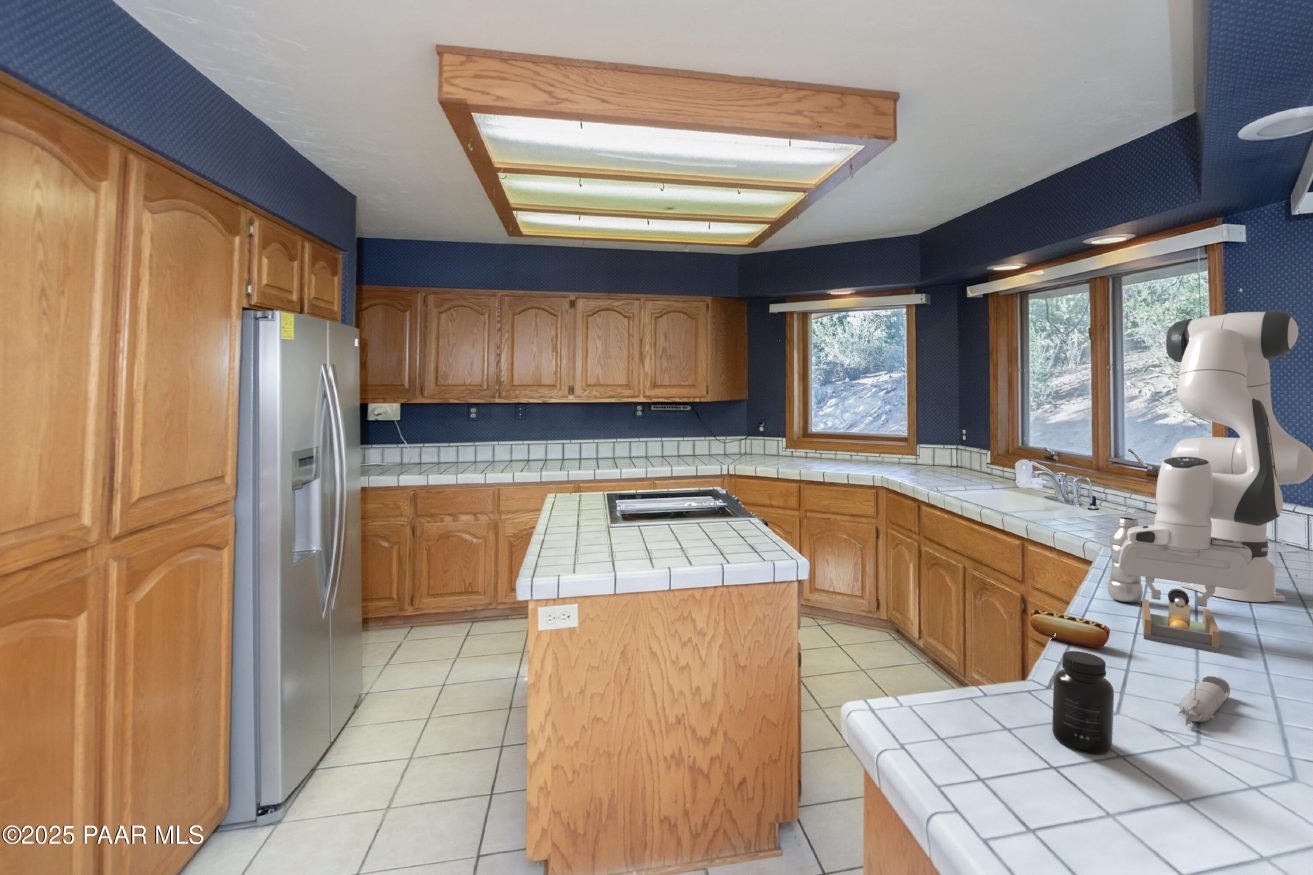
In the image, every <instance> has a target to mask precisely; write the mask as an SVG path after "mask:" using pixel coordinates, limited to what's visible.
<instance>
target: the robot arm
mask: <svg viewBox="0 0 1313 875" xmlns="http://www.w3.org/2000/svg"><path fill="white" fill-rule="evenodd" d="M1298 335H1299V327H1298V324H1297V322H1296V321H1295V318H1294V316H1293V315H1292V314H1291V313H1289V312H1287V311H1285V310H1270V309H1268V310H1266V311H1243V312H1240V311H1239V312H1229V313H1228V312H1227V313H1226V314H1218V315H1210V316H1205V317H1198V318H1194V319H1193V318H1187V319H1182V320H1179V321H1176V322H1174V324H1171V326H1170V327H1169V328H1168V330H1167V333H1166V335H1165V339H1164V340H1165V341H1164V348H1165V350H1166V354H1167V356H1168V357H1169V359H1171V360H1173V361H1174V362H1177V363H1180V366H1179V370H1178V375H1177V376H1178V377H1177V383H1176V396H1177V397H1176V398H1177V400H1178V403H1180V405H1181V406H1182V408H1184V409H1185V410H1186V411H1188V413H1191V414H1193V415H1194V416H1196V417H1198V418H1201V419H1204V420H1206V421H1210V422H1214V423H1216V424H1220V425H1223V426H1226V427H1229V428H1231V429H1233V431H1234V432H1236V433H1237V434H1238V436H1239V437H1222V436H1219V437H1218V436H1199V437H1192V438H1191V437H1190V438H1183V439H1181V440H1179V441H1178V442H1177V443H1176V444H1175V445H1174V447H1173V448H1172V450H1171V453H1170V457H1169V458H1166V459H1164V460H1162V461H1161V465H1160V468H1159V472H1158V476H1157V482H1156V486H1155V502H1156V503H1157V504H1156V506H1157V511H1156V514H1155V515H1154V523H1153V524H1147V525H1146V524H1145V525H1140V526H1139V525H1138V526H1137V527H1131V528H1129V529H1128V531H1127V537H1128V539H1127V540H1126V541H1125V542H1124V543H1123V545H1122V548H1121V552H1120V556H1119V563H1118V569H1119V570H1120V572H1121V573H1123V574H1129V575H1136V576H1141V577H1144V579H1145V583H1146V585H1147V587H1148V589H1150V592H1151V593H1150V594H1151V595H1150V596H1151V598H1150V599H1151V600H1157V601H1158V600H1159V601H1161V595H1162V592H1161V590H1160V589H1156V587H1155V586H1154V583H1155V579H1158V580H1165V581H1172V582H1173V581H1174V582H1178V583H1180V587H1183V588H1186V589H1189V590H1190V589H1191V590H1193V591H1197V592H1200V593H1203V594H1202V595H1196V606H1197V607H1204V608H1207V606H1208V600H1209V599H1210V598H1211V597H1213V596H1214V597H1218V598H1223V599H1228V600H1234V601H1240V602H1241V601H1242V602H1250V603H1251V602H1253V603H1267V602H1286V597H1285V596H1284V595H1283V594H1281V593H1279V592H1277V590H1276V585H1277V584H1276V581H1277V580H1276V579H1277V578H1276V574H1277V573H1276V570H1277V569H1276V565H1274V564H1273V563H1272V562H1271V561H1270V560H1269V559H1268V558H1267V557H1268V554H1269V542H1268V540H1267V526H1268V525H1267V524H1268V523H1270V522H1272V521H1275V520H1277V519H1278V518H1279V517H1280V516H1281V513H1282V511H1283V508H1284V497H1283V493H1282V489H1281V487H1280V485H1281V486H1282V485H1298V484H1302V483H1304V482H1305V481H1307V480H1308V479H1309V478H1311V477H1312V475H1313V450H1312V449H1311V448H1310V447H1309V446H1308V445H1306V444H1305V443H1304V442H1301V441H1299V440H1298V439H1296V438H1295V437H1293V436H1292V435H1290V434H1289V433H1287V431H1286V430H1284V429H1283V427H1281V425H1280V423H1279V422H1278V420H1277V418H1276V417H1275V415H1274V411H1273V406H1272V393H1271V392H1272V390H1271V368H1270V363H1269V362H1272V361H1275V359H1276V358H1280V357H1284V356H1285V355H1287V353H1289V352H1291V351H1292V350H1293V347H1294V345H1295V344H1296V342H1297V340H1298V338H1299V337H1298Z"/></svg>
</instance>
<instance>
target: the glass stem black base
mask: <svg viewBox="0 0 1313 875" xmlns="http://www.w3.org/2000/svg"><path fill="white" fill-rule="evenodd" d="M1167 597H1168V601H1169V602H1168V615H1167V617H1168V626H1170V623H1171V622H1172V621H1174V620H1181V621H1184V622H1185V623H1187V624H1188V626H1189V628H1190V620H1191V610H1192V609H1191V608H1192V607H1191V606H1192V605H1191V604H1189V603H1190V598H1189V595H1188V593H1187V592H1186V591H1185V590H1183V589H1180V588H1171V590H1169V591H1168V593H1167Z"/></svg>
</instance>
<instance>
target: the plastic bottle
mask: <svg viewBox="0 0 1313 875" xmlns="http://www.w3.org/2000/svg"><path fill="white" fill-rule="evenodd" d="M1117 526H1118V528H1116V530H1114V531H1113V532H1112V534H1111V535H1110V537H1109V544H1110V554H1111V569H1110V577H1109V578H1110V579H1109V581H1108V583H1107V584H1108V585H1107V592H1108V595H1109V597H1110V598H1111V599H1113V600H1116V601H1119V602H1123V603H1139V602H1140V601H1142V600H1143V594H1144V592H1143V591H1144V590H1143V585H1142V578H1141V577H1142V576H1136V575H1129V574H1123V573H1121V572H1120V570H1119V569H1118V563H1119V556H1120V552H1121V548H1122V545H1123V543H1124V542H1125V541H1126V540H1127V539H1128V537H1127V531H1128V529H1129V528H1131V527H1137V526H1139V518H1134V517H1127V516H1126V517H1125V516H1123V517H1122V516H1121V517H1120V516H1119V517H1118V520H1117Z"/></svg>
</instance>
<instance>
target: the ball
mask: <svg viewBox="0 0 1313 875" xmlns="http://www.w3.org/2000/svg"><path fill="white" fill-rule="evenodd" d="M1170 627H1176V628H1181V629H1187V630H1190V628H1189V626H1188V624H1187V623H1185V622H1184V621H1181V620H1174V621H1172V622H1171V623H1170Z"/></svg>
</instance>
